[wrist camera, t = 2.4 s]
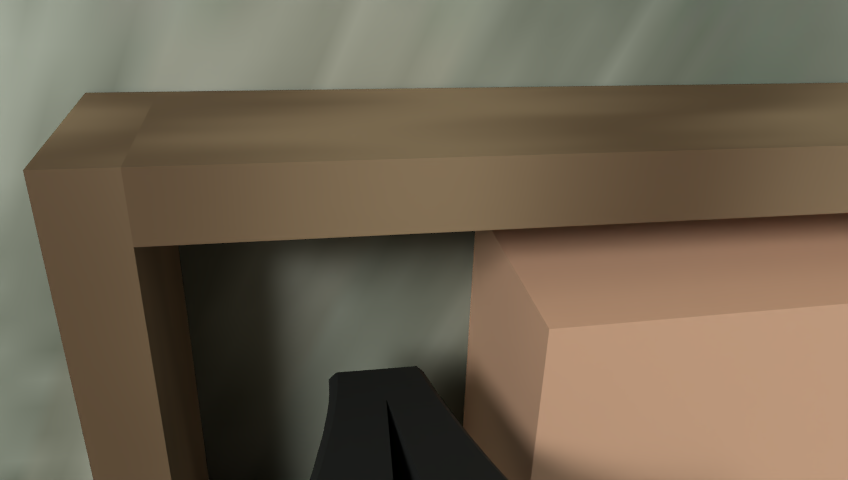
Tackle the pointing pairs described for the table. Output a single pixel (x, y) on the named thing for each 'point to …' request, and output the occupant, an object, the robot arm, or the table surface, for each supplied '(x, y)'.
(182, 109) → the walnut cubby
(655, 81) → the table surface
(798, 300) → the terracotta brick
